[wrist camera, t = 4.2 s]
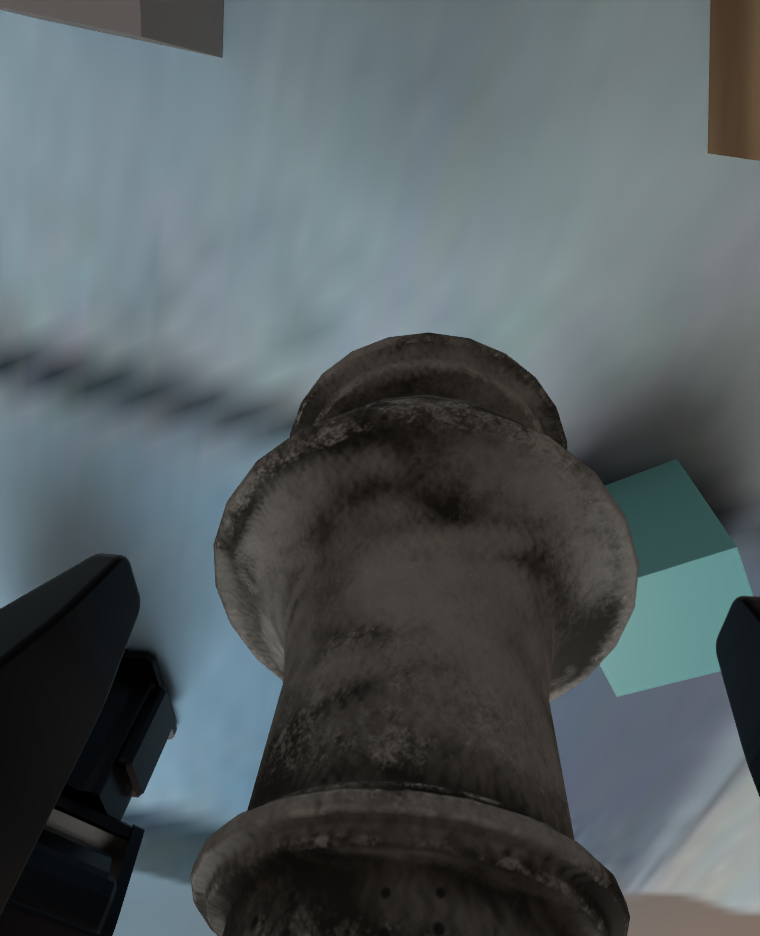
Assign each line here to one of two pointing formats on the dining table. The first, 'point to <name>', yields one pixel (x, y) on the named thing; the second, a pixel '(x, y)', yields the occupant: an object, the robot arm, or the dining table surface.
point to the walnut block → (734, 79)
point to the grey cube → (137, 19)
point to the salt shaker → (418, 656)
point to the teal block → (673, 581)
